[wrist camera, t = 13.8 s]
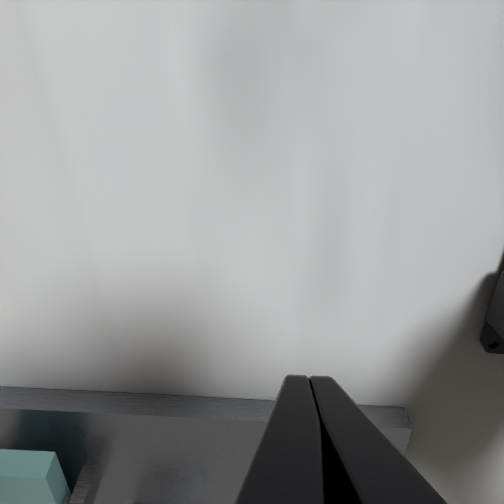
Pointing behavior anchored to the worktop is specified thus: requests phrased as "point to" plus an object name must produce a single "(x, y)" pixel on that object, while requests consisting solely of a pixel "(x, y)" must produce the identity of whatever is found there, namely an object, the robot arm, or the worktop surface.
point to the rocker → (32, 478)
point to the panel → (151, 441)
